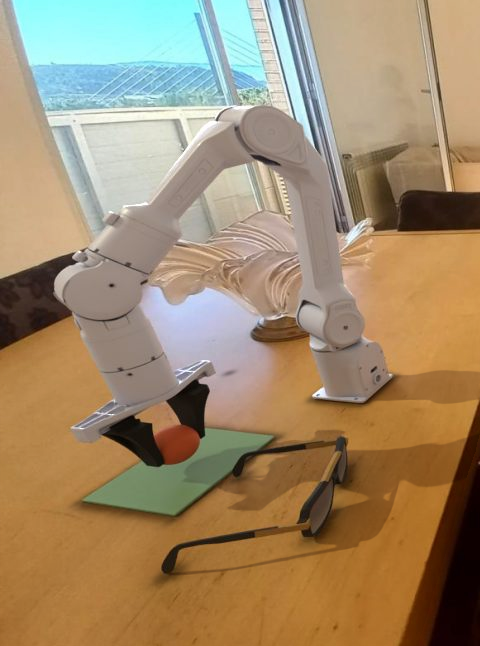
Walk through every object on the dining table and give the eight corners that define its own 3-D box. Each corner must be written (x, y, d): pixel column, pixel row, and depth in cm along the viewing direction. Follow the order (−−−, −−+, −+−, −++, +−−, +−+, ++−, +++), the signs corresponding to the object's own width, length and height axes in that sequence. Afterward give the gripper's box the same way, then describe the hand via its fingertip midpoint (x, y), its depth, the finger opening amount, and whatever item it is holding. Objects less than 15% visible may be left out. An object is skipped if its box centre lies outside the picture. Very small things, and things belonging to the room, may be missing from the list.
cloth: (275, 437, 68) (274, 435, 68) (175, 516, 55) (174, 514, 55) (195, 428, 71) (194, 426, 70) (82, 501, 58) (81, 500, 58)
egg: (215, 448, 64) (201, 418, 62) (177, 475, 60) (161, 444, 58) (185, 444, 65) (170, 415, 63) (146, 471, 61) (129, 440, 59)
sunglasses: (235, 476, 61) (221, 446, 59) (362, 456, 64) (352, 427, 62) (164, 575, 48) (143, 540, 46) (325, 545, 51) (312, 511, 49)
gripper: (168, 330, 64) (206, 412, 69) (27, 392, 51) (87, 488, 56) (212, 333, 62) (246, 417, 68) (78, 397, 49) (134, 495, 55)
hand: (177, 449), depth 62 cm, fingers closed on egg, 5 cm apart
